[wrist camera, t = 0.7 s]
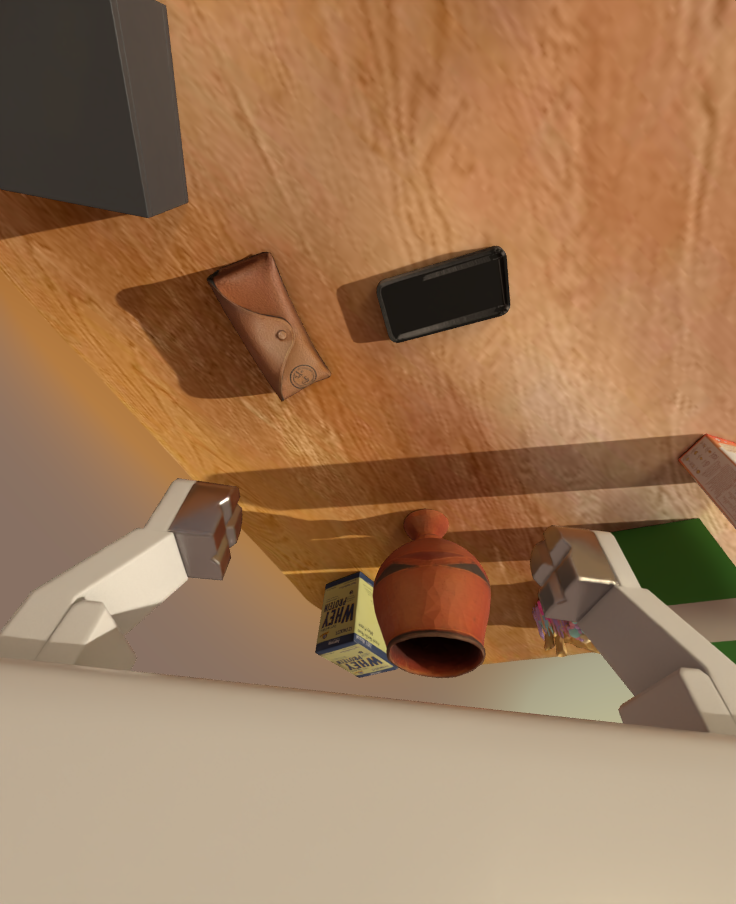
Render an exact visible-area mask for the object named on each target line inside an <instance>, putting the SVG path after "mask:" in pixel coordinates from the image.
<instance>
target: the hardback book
mask: <svg viewBox="0 0 736 904" xmlns="http://www.w3.org/2000/svg"><path fill="white" fill-rule="evenodd" d="M610 533H611V534H612V535H613V536H614V537H615V539H616V541H617V543H618V545H619V547H620V549H621V550H622V552H623V554H624V556H625V558H626V560H627V562H628V564H629V566H630V567H631V569H632V571H633V573H634V575H635V577H636V579H637V581H638V583H639V585H640V586H641V588H643V589H648V590H649V591H650V592H651V593H652V594H654V595H655V596H656V597H657V598H658V599H660V600H661V601H662V602H663V603H664V604H665V605H667V606H668V607H669V608H670V609H671V610H672V611H674V612H675V613H676V614H677V615H678V616H679V617H681V618H682V619H683V620H684V621H685V622H686V623H688V624H689V625H690V626H691V627H692V628H694V629H695V630H696V631H697V632H698V633H699V634H701V635H702V636H703V637H704V638H705V639H706V640H708V641H709V642H710V643H711V644H712V645H713V646H715V647H716V648H717V649H718V650H719V651H720V652H722V653H723V654H724V655H725V656H726V657H728V658H729V659H730V660H731V661H732V662H733V663H735V664H736V567H735V565H734V564H733V563H732V561H731V560H730V559H729V557H728V556H727V555H726V553H725V552H724V551H723V549H722V548H721V547H720V545H719V544H718V543H717V541H716V540H715V539H714V538H713V536H712V535H711V534H710V532H709V531H708V530H707V528H706V527H705V526H704V524H703V523H702V522H701V520H700V519H699V518H697V519H691V520H684V521H678V522H672V523H666V524H660V525H654V526H647V527H641V528H635V529H629V530H623V531H617V532H610Z"/></svg>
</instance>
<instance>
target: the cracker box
mask: <svg viewBox="0 0 736 904" xmlns="http://www.w3.org/2000/svg"><path fill="white" fill-rule="evenodd" d="M678 461H679V462H680V463H681V464H682V466H683V467H684V468H685V469H686V470H687V471H688V473H689V474H690V475H691V476H692V477H693V479H694V480H695V481H696V482H697V483H698V485H699V486H700V487H701V488H702V489H703V490H704V492H705V493H706V494H707V495H708V496H709V498H710V499H711V500H712V501H713V502H714V504H715V505H716V506H717V507H718V508H719V510H720V511H721V512H722V513H723V514H724V516H725V517H726V518H727V519H728V520H729V522H730V523H731V524H732V525H733V526H734V527H735V529H736V443H734V442H730V441H727V440H724V439H721V438H718V437H715V436H711V435H708V434H705V435H704V436H703V437H702V438H701V439H700V440H699V441H698V442H697V443H695V444H694V445H693V446H692V447H691V448H690V449H689V450H688V451H687V452H686V453H685V454H684V455H682V456H681V457H680V458H679V459H678Z"/></svg>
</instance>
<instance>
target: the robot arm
mask: <svg viewBox="0 0 736 904" xmlns="http://www.w3.org/2000/svg"><path fill="white" fill-rule="evenodd" d="M239 498H240V492H239V488H238V487H236V486H229V485H223V484H216V483H209V482H202V481H194V480H187V479H180V478H177V479H176V480H175V481H173V482H172V484H171V485H170V487H169V488H168V490H167V492H166V493H165V495H164V497H163V498H162V500H161V501H160V503H159V505H158V506H157V508H156V509H155V511H154V512H153V514H152V516H151V517H150V519H149V520H148V522H147V524H146V525H145V527H144V528H143V529H141V528H136V529H135V530H133V531H131V532H130V533H128V534H126V535H125V536H123V537H122V538H120V539H118V540H116V541H115V542H113V543H111V544H110V545H108V546H107V547H105V548H103V549H102V550H100V551H98V552H96V553H95V554H93V555H92V556H90V557H88V558H87V559H85V560H83V561H82V562H80V563H78V564H77V565H75V566H73V567H72V568H70V569H69V570H67V571H65V572H63V573H62V574H60V575H58V576H57V577H55V578H53V579H52V580H50V581H48V582H47V583H45V584H43V585H42V586H40V587H38V588H37V589H35V590H33V591H32V592H31V593H30V594H29V595H28V596H27V598H26V599H25V600H24V602H23V603H22V604H21V605H20V607H19V608H18V609H17V611H16V612H15V613H14V615H13V616H12V617H11V618H10V620H9V621H8V622H7V623H6V625H5V626H4V627H3V629H2V630H1V631H0V904H736V664H735V663H733V662H732V661H731V660H730V659H729V658H728V657H726V656H725V655H724V654H723V653H722V652H720V651H719V650H718V649H717V648H716V647H715V646H713V645H712V644H711V643H710V642H709V641H708V640H706V639H705V638H704V637H703V636H702V635H701V634H699V633H698V632H697V631H696V630H695V629H694V628H692V627H691V626H690V625H689V624H688V623H686V622H685V621H684V620H683V619H682V618H681V617H679V616H678V615H677V614H676V613H675V612H674V611H672V610H671V609H670V608H669V607H668V606H667V605H665V604H664V603H663V602H662V601H661V600H660V599H658V598H657V597H656V596H655V595H654V594H652V593H651V592H650V591H649V590H648V589H643V588H641V586H640V585H639V583H638V581H637V579H636V577H635V575H634V573H633V571H632V569H631V567H630V566H629V564H628V562H627V560H626V558H625V556H624V554H623V552H622V550H621V549H620V547H619V545H618V543H617V541H616V539H615V537H614V536H613V535H612V534H611V533H610V532H604V531H596V530H587V529H581V528H572V527H563V526H554V525H551V526H549V527H548V528H547V529H546V530H545V532H544V533H543V535H544V538H545V540H543V541H541V542H539V543H537V544H536V545H535V547H534V549H533V550H532V552H531V558H530V568H531V573H532V576H533V579H534V580H535V581H536V582H537V583H538V584H539V585H540V586H541V588H540V590H539V592H538V597H539V600H540V603H541V606H542V610H543V613H544V616H545V618H551V619H558V620H565V621H572V622H578V623H577V625H578V626H579V628H580V629H581V630H582V631H583V633H584V634H585V635H586V636H587V637H588V639H589V640H590V641H591V642H592V644H593V645H594V646H595V647H596V649H597V650H598V651H599V652H600V654H601V655H602V656H603V657H604V659H605V660H606V661H607V662H608V664H609V665H610V666H611V667H612V669H613V670H614V671H615V672H616V673H617V675H618V676H619V677H620V678H621V680H622V681H623V682H624V683H625V685H626V686H627V687H628V688H629V690H630V691H631V692H632V693H633V695H634V697H633V698H631V699H630V700H628V701H627V702H625V703H623V704H622V705H621V706H620V708H619V709H618V710H619V713H620V716H621V718H622V721H623V723H615V722H605V721H596V720H587V719H576V718H568V717H558V716H549V715H540V714H531V713H521V712H512V711H502V710H493V709H484V708H475V707H465V706H456V705H447V704H436V703H427V702H419V701H409V700H400V699H391V698H381V697H372V696H362V695H352V694H344V693H335V692H325V691H316V690H306V689H297V688H288V687H277V686H269V685H259V684H250V683H241V682H231V681H222V680H212V679H203V678H194V677H184V676H175V675H165V674H156V673H147V672H138V671H131V669H132V667H133V665H134V663H135V661H136V659H137V658H136V655H135V652H134V651H133V649H132V647H131V646H130V645H129V643H128V641H127V640H126V638H125V637H124V636H125V635H126V634H127V633H128V632H129V631H131V630H132V629H133V628H134V627H135V626H136V625H137V624H139V623H140V622H141V621H142V620H143V619H144V618H145V617H146V616H147V615H149V614H150V613H151V612H152V611H153V610H154V609H155V608H156V607H157V606H159V605H160V604H161V603H162V602H163V601H164V600H165V599H167V598H168V597H169V596H170V595H171V594H172V593H173V592H174V591H175V590H177V589H178V588H179V587H180V586H181V585H182V584H183V583H184V582H186V581H187V580H188V577H191V578H202V579H213V580H223V577H224V574H225V572H226V569H227V567H228V564H229V561H230V559H231V555H230V549H229V548H230V547H232V546H233V545H234V544H236V543H237V540H238V537H239V534H240V531H241V526H242V515H243V514H242V508H241V507H240V506H239V505H238V504H237V503H238V501H239Z"/></svg>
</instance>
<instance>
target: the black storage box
mask: <svg viewBox="0 0 736 904" xmlns="http://www.w3.org/2000/svg"><path fill="white" fill-rule="evenodd" d="M0 189H2V190H6V191H12V192H17V193H22V194H27V195H32V196H37V197H42V198H48V199H53V200H58V201H63V202H68V203H73V204H78V205H84V206H89V207H94V208H99V209H104V210H109V211H115V212H120V213H125V214H130V215H135V216H140V217H145V218H150V217H153V216H155V215H158V214H160V213H163V212H165V211H168V210H170V209H173V208H175V207H178V206H181V205H183V204H185V203H188V194H187V186H186V177H185V168H184V159H183V151H182V142H181V133H180V124H179V115H178V107H177V98H176V89H175V80H174V72H173V63H172V54H171V45H170V37H169V28H168V19H167V10H166V6H165V5H164V4H162V3H160V2H158V1H156V0H0Z"/></svg>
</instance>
